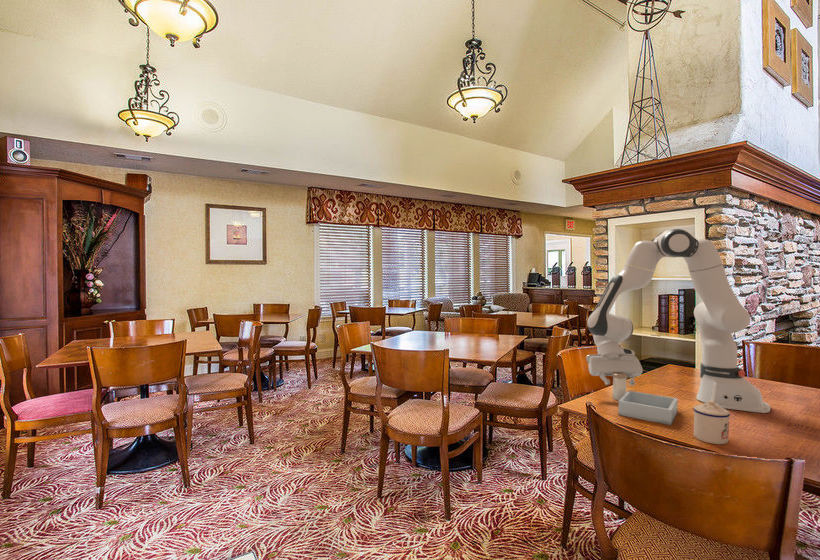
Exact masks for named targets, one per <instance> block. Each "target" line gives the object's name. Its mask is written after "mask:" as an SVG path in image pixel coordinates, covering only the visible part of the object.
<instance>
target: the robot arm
mask: <svg viewBox="0 0 820 560" xmlns="http://www.w3.org/2000/svg"><path fill="white" fill-rule="evenodd" d="M662 258H683V259H684V261H685V262H686V264H687V269H688V272H689V275H690V278H691V282H692V286H693V289H694V291H695V292H696V294H698V296H699V297H700V299H701V300H702V302H699V303H698V304H697V305H696V306H695V307H694V310H693V316H694V318H695V320H696V322H697V326H698V331H699V333H700V340H701V363H700V367H699V377H700V382H699V387H698V391H697V395H696V397H695V398H696V399H697V400H698V401H700V402H702V403H703V404H704V403H707V401H708V400H711V401H715V404H716V405H718V406H720V407H721V408H724V409H726V410H727V409H728V410H736V411H737V410H738V411H744V412H752V413H761V414H766V413H770V411H771V406H770V404H769V403H767V402H766V401H764V399H763V395H762V393H761V392H762V391H760V389H759V388H758V387H756V386H755V385H754V384H752V383H751V382H749V381H748V379H746V378H744V377H745V376H746V372H745V370H744V369H743V368H741V367H739V366H738V346H737V344H736V342H735V340H734V338H733V334H732V333H737V332H741V331H744V330H745V329H747V327H749V325H750V322H751V315H750V313H749V312H748V310H747V309H746V308H745V307H744V306H743V305H742V304H741V302H740V301H739V299H738V297H737V295H736V294H735V292H734V291H733V288H732V286H731V285H730V283H729V280H728V276H727V274H726V270H725V267H724V264H723V261H722V258H721V255H720V253H719V251H718V249H717V247H716V245H715V244H714V242H712V241H711V240H710V239H705V238H704V239H703V238H702V239H697V238H696V237H694V236H693V235H692V234H691V233H690V232H688V231H686V230H684V229H682V228H672V229H666V230H665V231H663V232H660V233H659V234H658V235H656V236H655V237H654V238H653V239H652V240H651V241H650V240H639V241H636V242H635V244H634V245H633V247H632V248H631V250H630V252H629V253H628V256H627V258H626V260H625V263H624V266H623V268H622V269H621V271H619V273H618V274H616V275H614V276H613V277H612V278H611V279H610V280H609V282H608V284H607V286H606V287H605V289H604V291H603V292H602V295H601V296H600V297H599V300H598V302H597V304H596V305H595V307H594V309H593V310H592V312H591V313H590V314H589V316H588V317H587V321H586V326H587V328H588V331H589V332H590V333H591V335H592V337H593V342H594V343H595V344H594V345H596V346H597V347H596V350H597V354H591V353H590V354H588V355H586V357H585V360H586V363H587V364H588V365H587V366H588V372H589V374H590V375H591V376H593V377H594V376H595V377H596V376H597V377H599V378H600V379H601V380H602V381H603V382H604V384H605V386H609V385H610V384H611V380H610V379H609V378H607V377H613V376H612V375H613V373H625V374H627V377H629V381H628V384H629V386H635V385H636V382H635V378H636V377H640V376H641V375H642V373H643V370H644V369H643V367H642V363H641V362H640V360H639V359H638V357H637V356H635V351H634V350H632V349H629V348H625V347H622V346H620V345H619V344H620V343H622V342H624V341H626V340H628V339H630V337H631V336H632V335H633V333H634V325H633V322H632V321H631V319H630V318H629V317H626V316H621V315H619V314H618V315H617V314H613V313H610V312H611V310H612V308H613V305H614V304H615V302H616V300H617V298H618V297H619V296H620V295H622V294H623V293H625V292H628V291H629V292H630V291H637V290H640V289H642V288H645V287H647V286H648V285H650V283H651V281H652V279H653V277H654V273H655V271H656V269H657V265H658V263H659V262H660V260H662Z"/></svg>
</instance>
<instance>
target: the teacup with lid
mask: <svg viewBox="0 0 820 560" xmlns="http://www.w3.org/2000/svg"><path fill="white" fill-rule="evenodd" d="M730 416H731V414H730V411H729V409H728V410H727V409H726V408H721V407H720V406H718V405H716V404H715V401H711V400H708V401H707V403H704V402H703V403H702V404H696V405H694V406H693V437H695V438H696V439H698V440H699V441H702V442H704V443H709V444H712V445H713V444H714V445H725V444H726V445H727V444H728V442H729V436H730V435H729V427H730V426H729V425H730V424H729V423H730V421H729V420H730Z"/></svg>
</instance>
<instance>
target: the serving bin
mask: <svg viewBox="0 0 820 560" xmlns="http://www.w3.org/2000/svg"><path fill="white" fill-rule="evenodd" d="M617 412H618V416H623V417H626V418H633V419H638V420H643V421H648V422H651V423H657V424H658V423H659V424H662V425H668V426H672V425H673V422H674V419H675V418H676V416H677V413H678V398H677V397H671V396H670V397H669V396H664V395H657V394H652V393H648V392H647V393H646V392H640V391H635V390H634V391H633V390H627V391H626V394H625V395H624V396H623V397H622V398H621V399H620V400H618V410H617Z"/></svg>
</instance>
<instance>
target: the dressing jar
mask: <svg viewBox="0 0 820 560" xmlns="http://www.w3.org/2000/svg"><path fill="white" fill-rule="evenodd" d="M611 377H612V399H613V400H615V401H619V400H620V399H621V398H622V397H623V396H624V395H625V394H626V393H627V378H628V376H627V374H625V373H613V375H612V376H611Z"/></svg>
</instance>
